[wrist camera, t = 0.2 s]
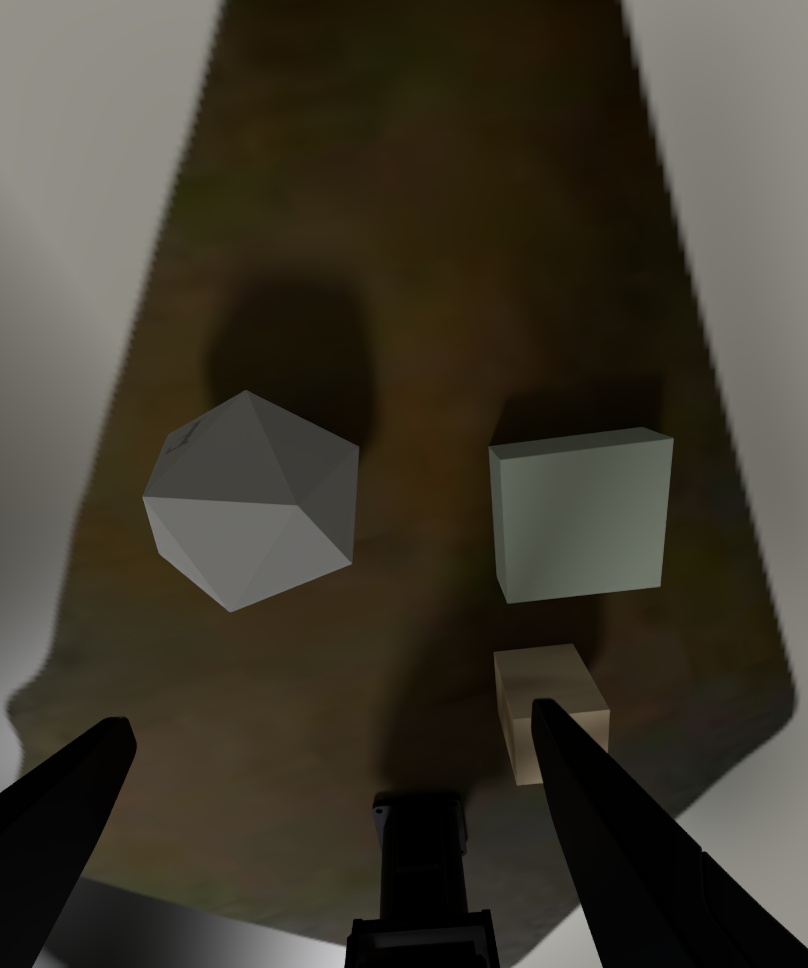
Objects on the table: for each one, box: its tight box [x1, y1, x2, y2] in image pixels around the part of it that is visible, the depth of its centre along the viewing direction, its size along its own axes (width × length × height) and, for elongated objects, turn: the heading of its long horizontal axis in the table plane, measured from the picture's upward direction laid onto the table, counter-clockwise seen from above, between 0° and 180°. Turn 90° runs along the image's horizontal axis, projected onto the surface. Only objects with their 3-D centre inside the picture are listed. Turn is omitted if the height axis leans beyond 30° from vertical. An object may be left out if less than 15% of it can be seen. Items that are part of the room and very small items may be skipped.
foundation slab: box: [489, 427, 674, 604], centre depth 22 cm, size 8×8×3 cm
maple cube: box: [494, 643, 610, 785], centre depth 25 cm, size 5×5×5 cm
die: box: [142, 390, 359, 612], centre depth 18 cm, size 8×9×10 cm
